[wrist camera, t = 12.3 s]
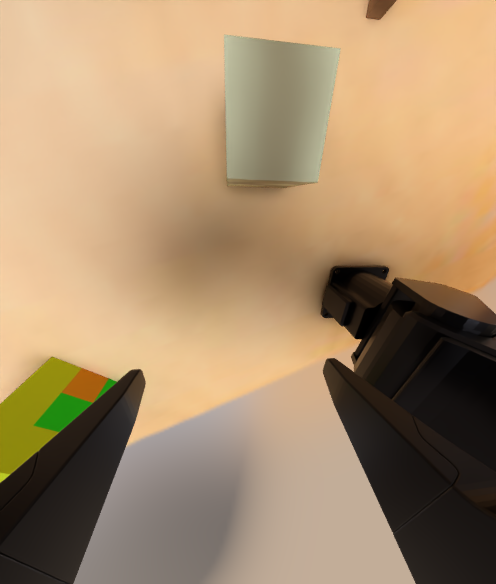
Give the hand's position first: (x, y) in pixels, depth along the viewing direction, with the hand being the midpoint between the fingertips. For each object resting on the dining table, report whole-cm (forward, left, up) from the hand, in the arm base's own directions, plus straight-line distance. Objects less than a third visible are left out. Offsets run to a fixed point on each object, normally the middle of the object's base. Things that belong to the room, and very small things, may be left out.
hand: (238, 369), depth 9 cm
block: (-2, -11, -12) cm, 16 cm away
